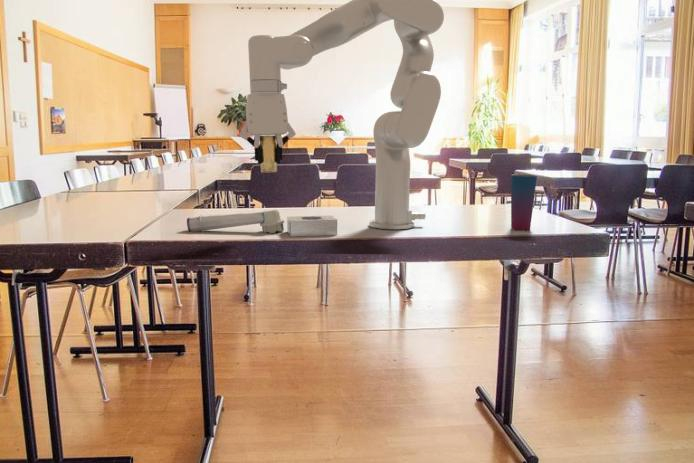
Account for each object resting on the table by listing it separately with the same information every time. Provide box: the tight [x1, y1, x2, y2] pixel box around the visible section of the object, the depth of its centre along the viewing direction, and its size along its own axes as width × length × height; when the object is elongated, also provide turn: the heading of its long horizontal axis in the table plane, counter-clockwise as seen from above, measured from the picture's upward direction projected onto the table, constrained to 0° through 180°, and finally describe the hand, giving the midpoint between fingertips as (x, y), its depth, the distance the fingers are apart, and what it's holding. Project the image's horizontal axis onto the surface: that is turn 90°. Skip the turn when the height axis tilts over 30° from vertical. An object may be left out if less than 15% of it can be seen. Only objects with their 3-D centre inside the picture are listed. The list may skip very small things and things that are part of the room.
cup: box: [510, 173, 538, 231], centre depth 162 cm, size 7×7×15 cm
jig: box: [286, 215, 338, 237], centre depth 154 cm, size 12×7×4 cm, turn 104°
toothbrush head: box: [186, 208, 285, 234], centre depth 156 cm, size 5×7×25 cm
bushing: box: [259, 135, 278, 174], centre depth 148 cm, size 4×4×9 cm
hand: (268, 162), depth 148 cm, fingers closed on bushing, 4 cm apart
